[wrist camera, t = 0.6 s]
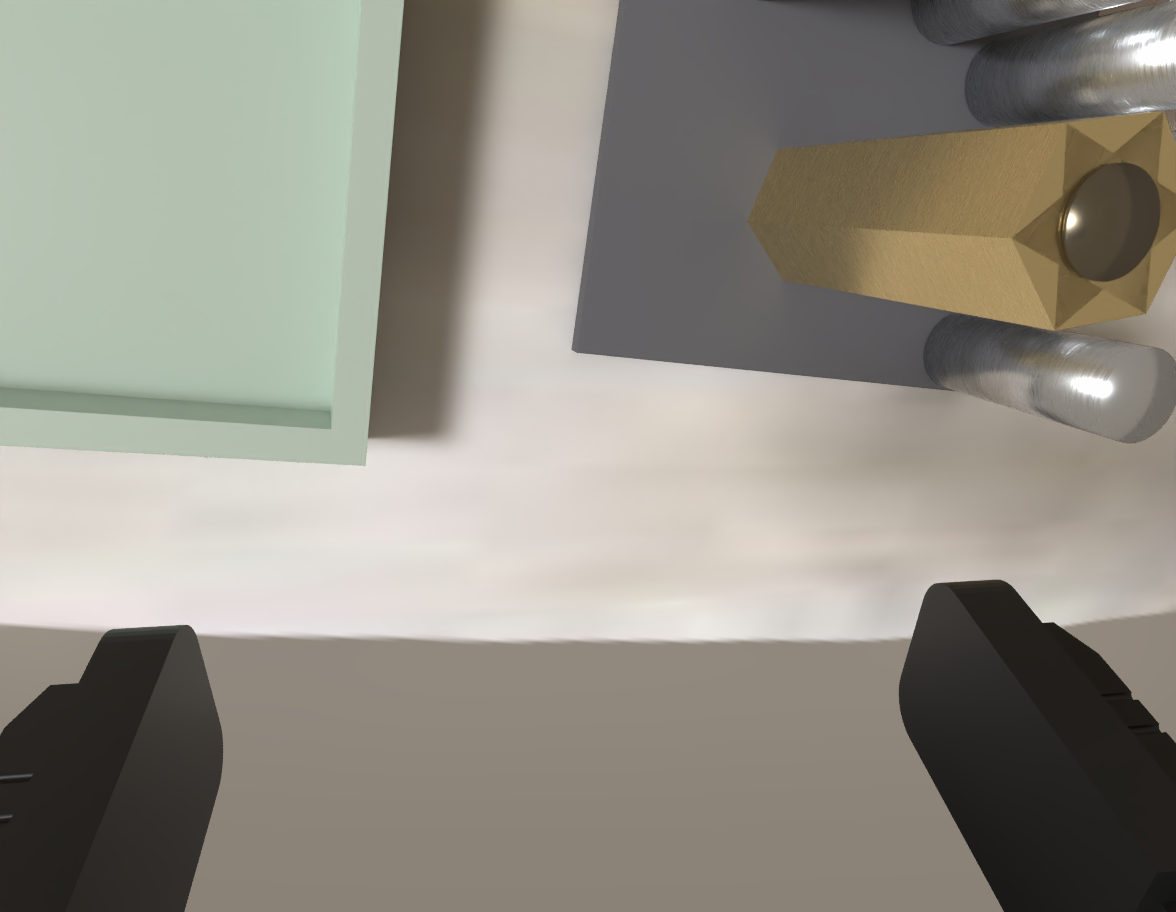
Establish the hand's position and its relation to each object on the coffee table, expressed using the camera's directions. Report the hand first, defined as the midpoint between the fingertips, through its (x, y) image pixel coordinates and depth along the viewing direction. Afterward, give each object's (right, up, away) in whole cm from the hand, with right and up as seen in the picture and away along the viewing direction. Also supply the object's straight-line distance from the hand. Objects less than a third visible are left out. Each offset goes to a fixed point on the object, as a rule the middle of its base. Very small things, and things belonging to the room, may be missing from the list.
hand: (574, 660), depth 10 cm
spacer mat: (+9, +13, +20) cm, 26 cm away
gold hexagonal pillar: (+8, +10, +20) cm, 24 cm away
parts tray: (-13, +10, +14) cm, 22 cm away
